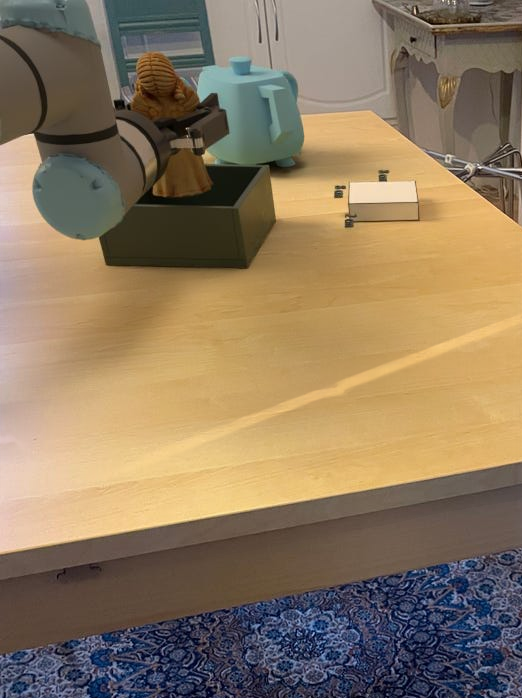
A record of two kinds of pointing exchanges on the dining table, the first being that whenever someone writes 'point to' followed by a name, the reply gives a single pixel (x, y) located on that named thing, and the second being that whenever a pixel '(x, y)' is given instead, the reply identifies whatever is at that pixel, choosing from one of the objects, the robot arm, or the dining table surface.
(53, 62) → the robot arm
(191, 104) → the figurine
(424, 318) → the dining table surface
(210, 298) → the dining table surface
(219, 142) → the teapot
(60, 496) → the dining table surface
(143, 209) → the bin
